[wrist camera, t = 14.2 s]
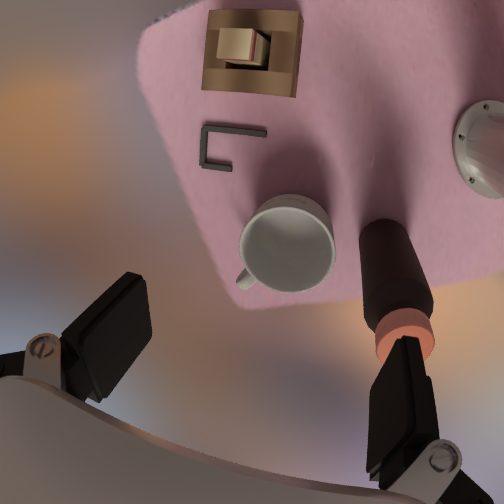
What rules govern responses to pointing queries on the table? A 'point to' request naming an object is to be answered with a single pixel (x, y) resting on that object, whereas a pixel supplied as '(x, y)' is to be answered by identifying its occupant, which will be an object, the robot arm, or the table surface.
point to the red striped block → (243, 47)
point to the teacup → (287, 245)
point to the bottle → (394, 288)
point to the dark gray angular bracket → (223, 130)
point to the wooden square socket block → (280, 61)
